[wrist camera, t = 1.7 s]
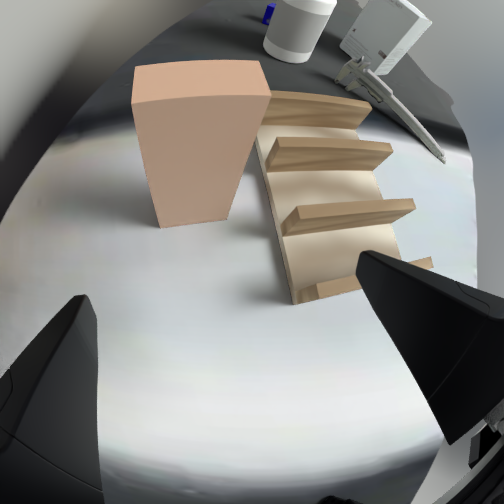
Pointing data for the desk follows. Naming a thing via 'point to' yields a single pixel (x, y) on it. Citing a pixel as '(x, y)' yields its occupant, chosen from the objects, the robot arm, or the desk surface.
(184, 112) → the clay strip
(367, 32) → the skincare box
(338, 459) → the desk surface
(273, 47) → the spray bottle
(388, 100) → the caliper
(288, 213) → the rack
